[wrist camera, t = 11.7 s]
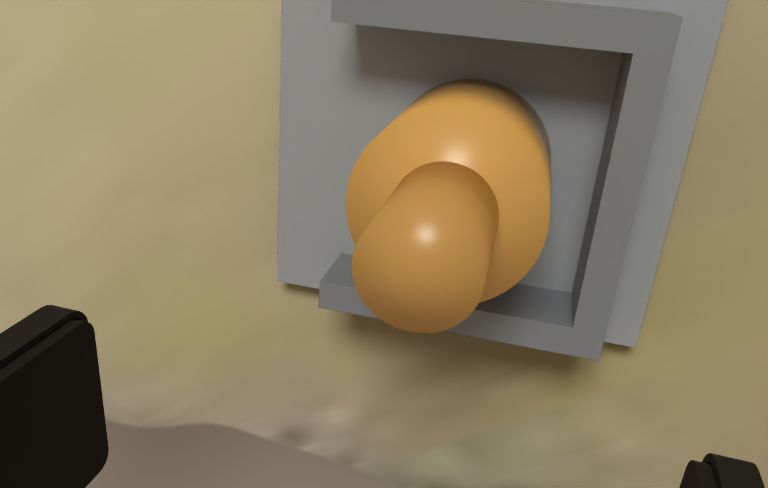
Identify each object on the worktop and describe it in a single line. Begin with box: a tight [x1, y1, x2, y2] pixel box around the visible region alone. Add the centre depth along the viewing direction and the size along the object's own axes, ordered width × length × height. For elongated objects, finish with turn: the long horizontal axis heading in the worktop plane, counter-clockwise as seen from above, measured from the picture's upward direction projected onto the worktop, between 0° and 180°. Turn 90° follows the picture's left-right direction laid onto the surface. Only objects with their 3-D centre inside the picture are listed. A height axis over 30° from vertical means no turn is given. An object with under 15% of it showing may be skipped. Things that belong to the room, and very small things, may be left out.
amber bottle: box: [346, 79, 551, 334], centre depth 22 cm, size 6×6×11 cm
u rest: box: [277, 0, 728, 361], centre depth 26 cm, size 16×14×4 cm
